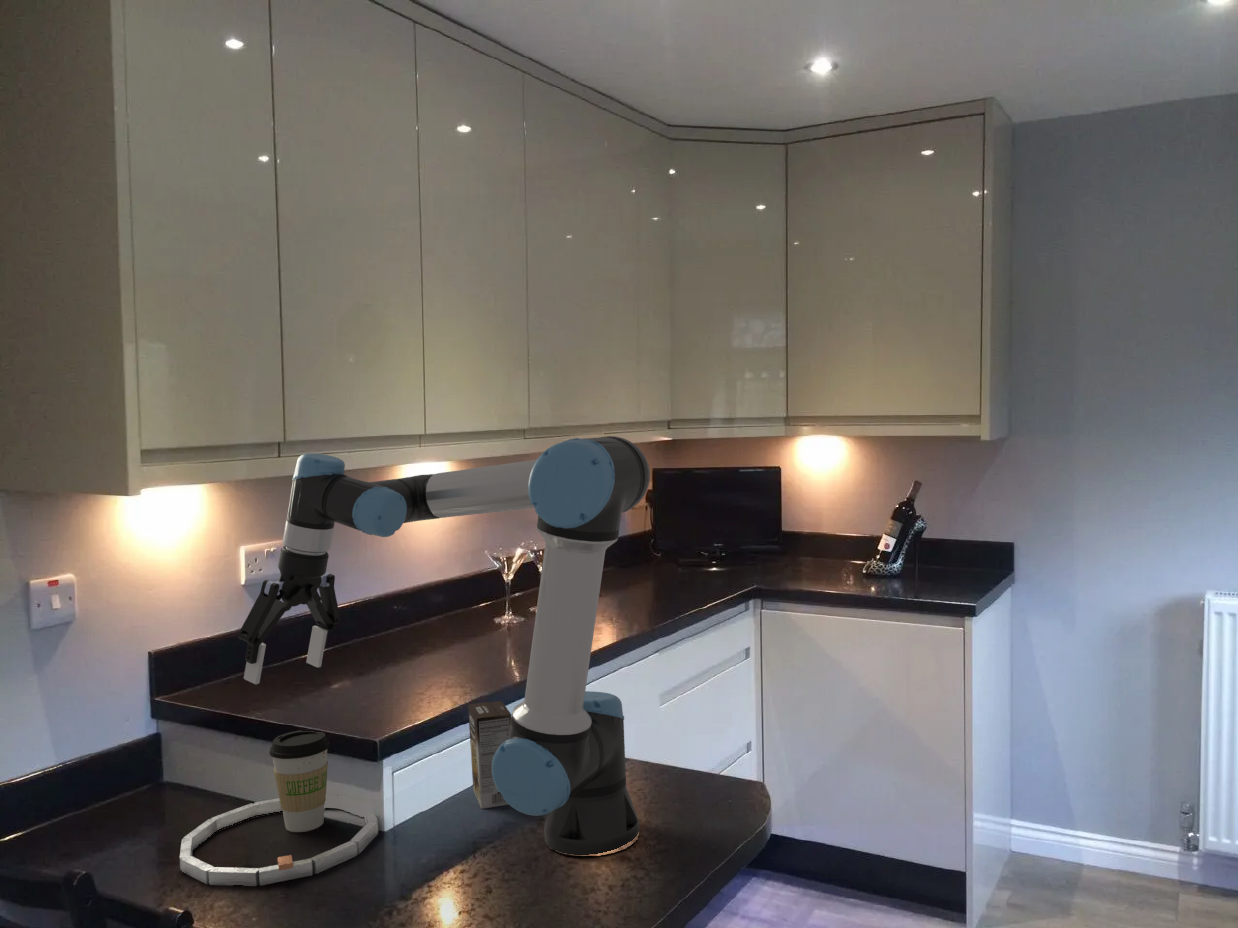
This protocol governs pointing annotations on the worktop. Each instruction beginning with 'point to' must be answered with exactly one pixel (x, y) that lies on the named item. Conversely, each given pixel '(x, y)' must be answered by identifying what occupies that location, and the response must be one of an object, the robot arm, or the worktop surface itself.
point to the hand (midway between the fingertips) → (283, 672)
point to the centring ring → (285, 864)
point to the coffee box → (487, 748)
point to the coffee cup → (301, 778)
